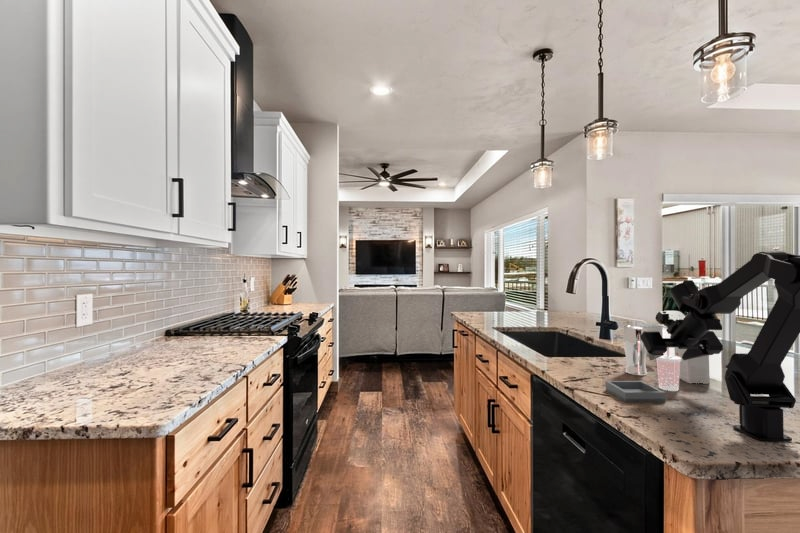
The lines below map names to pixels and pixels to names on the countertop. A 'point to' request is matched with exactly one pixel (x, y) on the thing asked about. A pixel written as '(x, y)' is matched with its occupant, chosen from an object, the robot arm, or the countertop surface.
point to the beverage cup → (668, 372)
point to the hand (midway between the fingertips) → (666, 358)
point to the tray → (635, 391)
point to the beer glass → (634, 350)
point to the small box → (693, 368)
